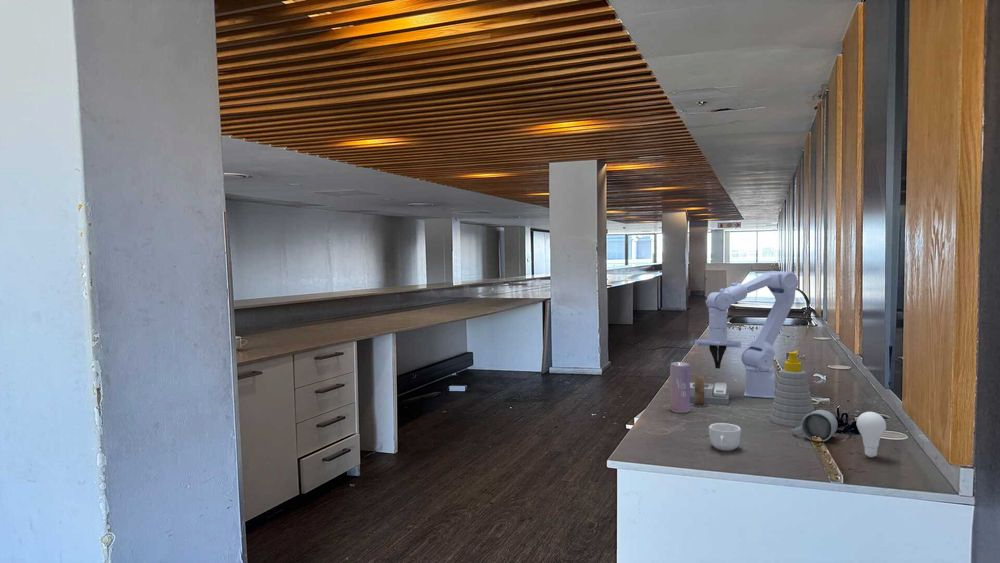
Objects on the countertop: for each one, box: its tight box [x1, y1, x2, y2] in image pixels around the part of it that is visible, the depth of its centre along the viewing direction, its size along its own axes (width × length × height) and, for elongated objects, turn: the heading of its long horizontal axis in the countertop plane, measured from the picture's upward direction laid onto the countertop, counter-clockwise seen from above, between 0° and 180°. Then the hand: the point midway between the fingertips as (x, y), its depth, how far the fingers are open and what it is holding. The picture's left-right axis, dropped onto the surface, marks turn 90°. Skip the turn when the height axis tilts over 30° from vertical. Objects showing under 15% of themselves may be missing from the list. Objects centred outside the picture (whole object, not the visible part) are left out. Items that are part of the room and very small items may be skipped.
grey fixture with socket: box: [690, 382, 731, 406], centre depth 211 cm, size 13×11×5 cm
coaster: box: [692, 402, 708, 408], centre depth 204 cm, size 5×5×1 cm
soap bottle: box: [769, 350, 815, 428], centre depth 183 cm, size 12×12×20 cm
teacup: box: [708, 422, 742, 452], centre depth 159 cm, size 10×8×5 cm
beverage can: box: [669, 361, 691, 414], centre depth 197 cm, size 6×6×15 cm
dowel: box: [694, 375, 705, 406], centre depth 203 cm, size 3×3×9 cm
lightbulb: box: [856, 411, 887, 458], centre depth 151 cm, size 6×6×11 cm
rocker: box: [714, 382, 728, 397], centre depth 209 cm, size 4×7×1 cm, turn 157°
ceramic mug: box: [791, 409, 838, 443], centre depth 168 cm, size 11×8×8 cm
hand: (717, 368), depth 212 cm, fingers closed
